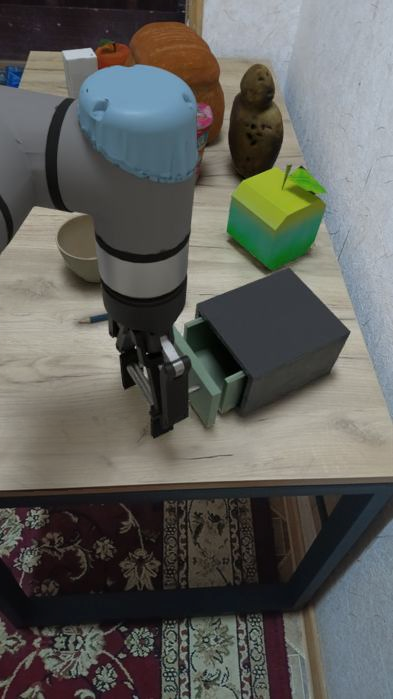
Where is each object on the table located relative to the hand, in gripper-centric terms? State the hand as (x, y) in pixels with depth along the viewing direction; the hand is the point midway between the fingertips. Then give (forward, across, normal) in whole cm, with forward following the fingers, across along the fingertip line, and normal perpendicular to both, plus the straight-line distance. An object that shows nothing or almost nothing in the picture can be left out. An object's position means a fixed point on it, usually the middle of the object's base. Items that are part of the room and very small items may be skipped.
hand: (147, 406), depth 60 cm
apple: (+2, +19, -32) cm, 38 cm away
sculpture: (+2, +37, -40) cm, 55 cm away
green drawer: (+1, 0, -9) cm, 9 cm away
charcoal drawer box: (+2, 0, -17) cm, 17 cm away
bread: (+2, +60, -37) cm, 70 cm away
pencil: (+2, +16, -6) cm, 17 cm away
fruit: (+2, +79, -33) cm, 85 cm away
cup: (+2, +42, -30) cm, 51 cm away
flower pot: (+2, +26, -4) cm, 26 cm away
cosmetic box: (+2, +70, -22) cm, 73 cm away
